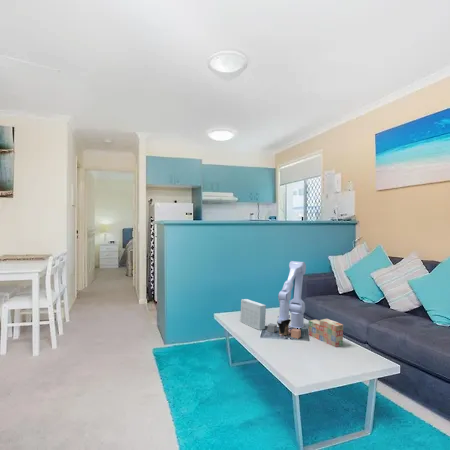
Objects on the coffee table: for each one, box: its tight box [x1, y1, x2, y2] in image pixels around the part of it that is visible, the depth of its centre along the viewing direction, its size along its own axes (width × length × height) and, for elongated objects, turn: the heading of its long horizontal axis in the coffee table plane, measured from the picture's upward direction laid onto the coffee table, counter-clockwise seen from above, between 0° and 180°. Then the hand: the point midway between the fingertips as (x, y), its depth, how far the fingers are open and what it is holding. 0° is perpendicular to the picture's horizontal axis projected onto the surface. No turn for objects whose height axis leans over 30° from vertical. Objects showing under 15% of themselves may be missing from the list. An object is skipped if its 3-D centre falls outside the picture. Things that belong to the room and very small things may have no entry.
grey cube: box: [266, 323, 278, 334], centre depth 203 cm, size 4×4×4 cm
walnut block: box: [278, 324, 290, 336], centre depth 199 cm, size 4×4×6 cm
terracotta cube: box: [290, 327, 302, 340], centre depth 194 cm, size 4×4×4 cm
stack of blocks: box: [308, 318, 344, 348], centre depth 190 cm, size 21×6×12 cm, turn 30°
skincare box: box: [239, 298, 267, 331], centre depth 215 cm, size 21×5×16 cm, turn 34°
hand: (283, 331), depth 199 cm, fingers closed on walnut block, 4 cm apart
